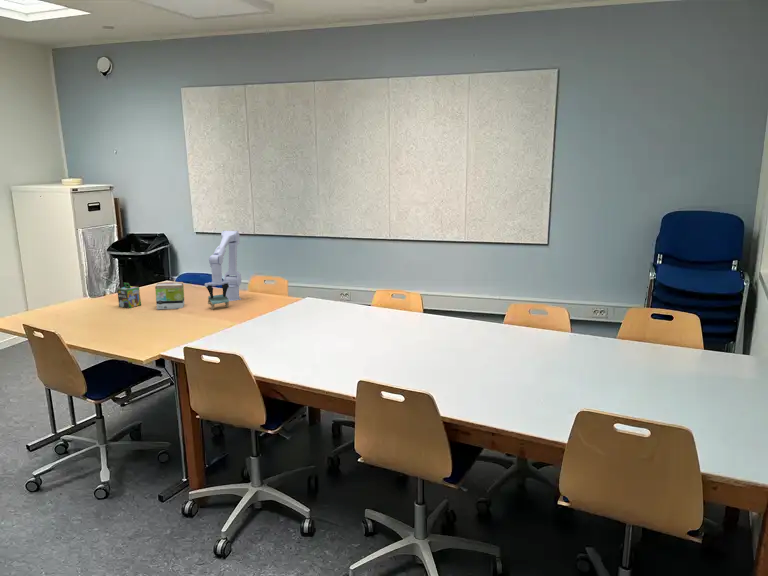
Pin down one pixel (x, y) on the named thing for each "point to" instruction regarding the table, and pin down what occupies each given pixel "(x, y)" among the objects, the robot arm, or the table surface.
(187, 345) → the table surface
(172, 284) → the tea box
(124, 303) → the chalk box
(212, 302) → the footstool
